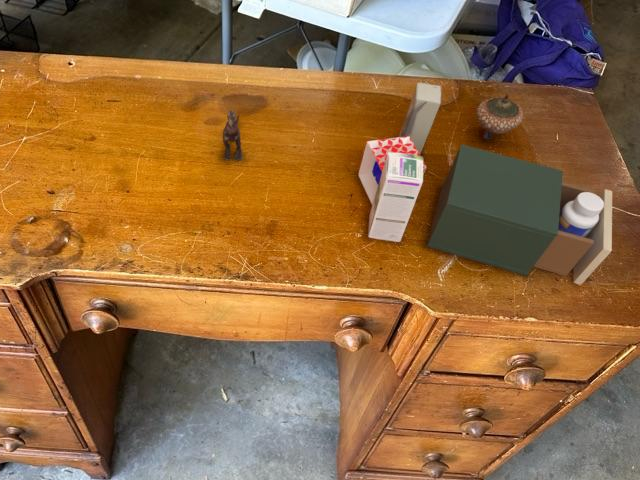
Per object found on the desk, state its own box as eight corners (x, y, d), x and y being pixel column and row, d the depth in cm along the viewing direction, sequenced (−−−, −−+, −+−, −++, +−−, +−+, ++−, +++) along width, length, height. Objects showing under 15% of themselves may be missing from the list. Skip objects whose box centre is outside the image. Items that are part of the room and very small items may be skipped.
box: (398, 137, 112) (416, 80, 101) (420, 141, 112) (441, 84, 101) (396, 155, 109) (415, 98, 98) (419, 159, 109) (441, 102, 98)
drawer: (590, 228, 99) (620, 192, 92) (588, 287, 92) (620, 253, 84) (493, 202, 102) (514, 165, 94) (484, 256, 95) (506, 221, 87)
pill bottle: (536, 241, 95) (565, 200, 87) (552, 224, 98) (582, 183, 90) (566, 259, 93) (599, 219, 85) (581, 242, 96) (615, 201, 88)
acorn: (510, 131, 114) (533, 88, 106) (506, 157, 110) (529, 114, 101) (469, 120, 116) (489, 77, 107) (463, 145, 111) (483, 102, 103)
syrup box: (400, 243, 97) (426, 181, 85) (366, 238, 97) (386, 175, 85) (401, 218, 100) (425, 155, 88) (367, 213, 101) (387, 150, 89)
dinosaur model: (223, 116, 96) (227, 68, 105) (220, 171, 105) (223, 122, 114) (247, 118, 96) (248, 70, 105) (241, 173, 105) (243, 124, 114)
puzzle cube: (413, 199, 103) (426, 166, 96) (372, 205, 102) (382, 172, 95) (397, 169, 107) (409, 135, 101) (358, 174, 106) (367, 140, 99)
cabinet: (533, 214, 102) (563, 170, 93) (526, 276, 94) (557, 234, 85) (440, 189, 104) (461, 144, 96) (426, 246, 97) (447, 203, 88)
